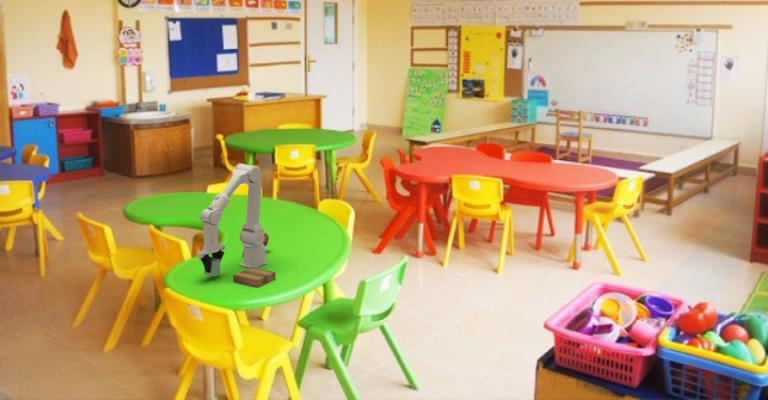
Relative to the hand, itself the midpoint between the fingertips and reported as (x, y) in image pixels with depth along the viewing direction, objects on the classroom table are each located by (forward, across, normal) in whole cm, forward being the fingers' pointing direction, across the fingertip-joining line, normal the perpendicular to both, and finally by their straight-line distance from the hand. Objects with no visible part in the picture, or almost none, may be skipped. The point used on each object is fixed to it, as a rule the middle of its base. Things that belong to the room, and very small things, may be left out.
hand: (212, 270), depth 321 cm
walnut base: (+3, -7, +16) cm, 18 cm away
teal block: (+2, 0, 0) cm, 2 cm away
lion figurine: (+4, -35, -5) cm, 36 cm away
